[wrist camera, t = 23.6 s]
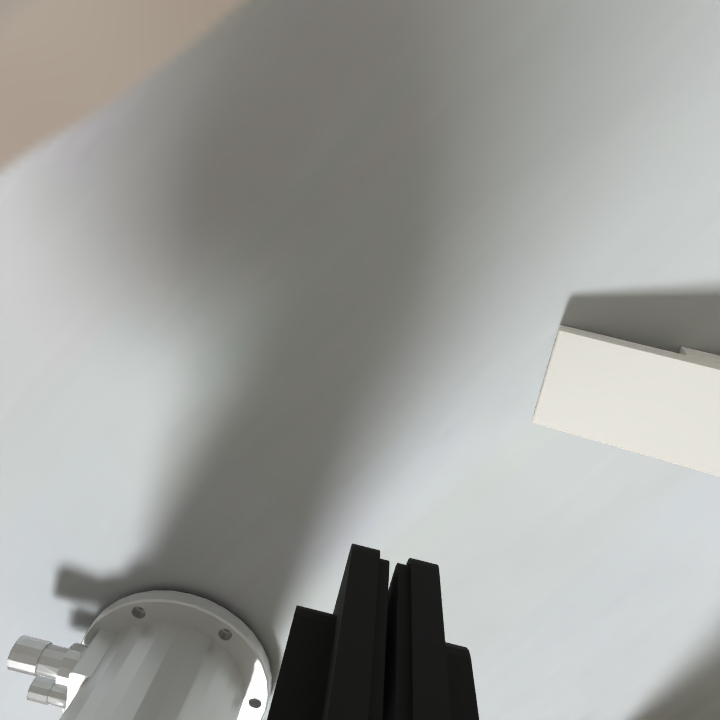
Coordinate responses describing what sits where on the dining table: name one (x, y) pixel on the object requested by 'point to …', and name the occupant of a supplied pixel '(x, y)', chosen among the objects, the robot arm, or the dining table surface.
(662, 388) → the domino
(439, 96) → the dining table surface
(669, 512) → the dining table surface
